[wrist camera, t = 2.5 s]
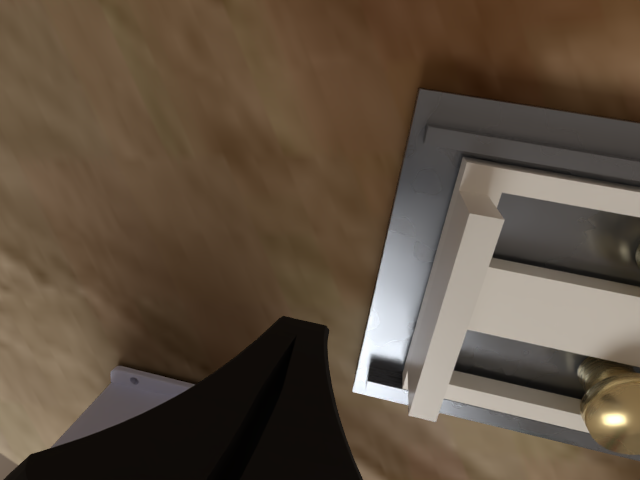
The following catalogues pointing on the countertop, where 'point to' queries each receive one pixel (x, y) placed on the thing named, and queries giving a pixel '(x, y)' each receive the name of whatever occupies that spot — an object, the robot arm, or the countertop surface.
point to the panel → (515, 297)
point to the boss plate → (511, 257)
